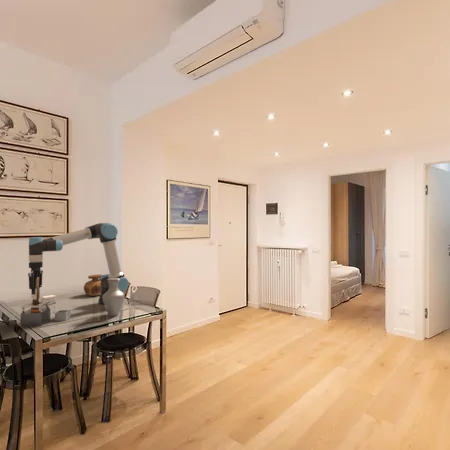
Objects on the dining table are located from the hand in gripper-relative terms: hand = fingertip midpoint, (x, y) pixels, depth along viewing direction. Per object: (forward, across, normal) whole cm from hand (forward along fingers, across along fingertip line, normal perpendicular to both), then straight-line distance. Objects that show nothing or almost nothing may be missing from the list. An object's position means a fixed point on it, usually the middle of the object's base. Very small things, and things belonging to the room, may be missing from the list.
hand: (35, 298), depth 199 cm
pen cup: (+16, -8, +13) cm, 22 cm away
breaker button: (+12, 0, 0) cm, 12 cm away
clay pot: (+16, -82, +10) cm, 84 cm away
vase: (+16, -15, +44) cm, 49 cm away
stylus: (+7, 0, 0) cm, 7 cm away
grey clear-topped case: (+16, 0, 0) cm, 16 cm away
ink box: (+16, -25, -4) cm, 30 cm away
